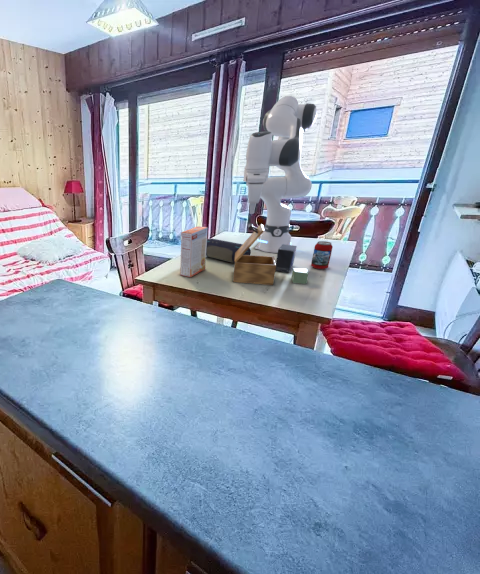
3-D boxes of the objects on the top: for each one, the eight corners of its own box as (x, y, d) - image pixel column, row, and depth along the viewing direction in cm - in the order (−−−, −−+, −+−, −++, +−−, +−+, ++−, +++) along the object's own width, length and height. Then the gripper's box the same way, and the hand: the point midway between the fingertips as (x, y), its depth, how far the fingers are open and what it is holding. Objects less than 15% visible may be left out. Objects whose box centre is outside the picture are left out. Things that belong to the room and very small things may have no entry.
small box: (289, 273, 148) (293, 250, 144) (273, 270, 152) (277, 249, 148) (293, 266, 156) (297, 245, 152) (278, 264, 159) (281, 243, 155)
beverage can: (309, 268, 152) (314, 243, 148) (312, 264, 157) (317, 240, 152) (326, 271, 148) (331, 245, 143) (329, 266, 152) (334, 242, 148)
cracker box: (194, 267, 162) (196, 225, 154) (205, 269, 158) (208, 227, 150) (178, 275, 153) (180, 231, 146) (190, 277, 149) (192, 233, 142)
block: (291, 278, 142) (293, 268, 140) (304, 279, 140) (306, 268, 138) (292, 282, 137) (294, 271, 136) (306, 284, 136) (308, 272, 134)
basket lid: (262, 224, 141) (252, 217, 141) (264, 230, 130) (253, 223, 130) (236, 254, 149) (227, 247, 150) (235, 262, 139) (225, 255, 139)
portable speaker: (197, 257, 177) (199, 239, 174) (209, 253, 183) (210, 235, 179) (240, 267, 158) (242, 247, 155) (251, 263, 164) (254, 243, 160)
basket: (270, 275, 147) (273, 256, 144) (273, 285, 136) (276, 265, 133) (233, 272, 153) (235, 254, 149) (232, 281, 142) (235, 262, 139)
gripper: (246, 174, 139) (243, 207, 145) (247, 178, 122) (243, 215, 127) (263, 174, 137) (258, 207, 142) (266, 178, 120) (261, 216, 125)
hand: (251, 211), depth 135 cm, fingers open, 8 cm apart
